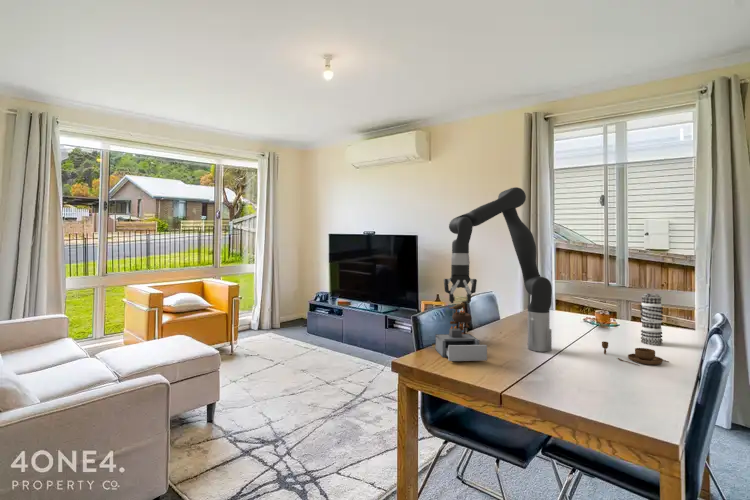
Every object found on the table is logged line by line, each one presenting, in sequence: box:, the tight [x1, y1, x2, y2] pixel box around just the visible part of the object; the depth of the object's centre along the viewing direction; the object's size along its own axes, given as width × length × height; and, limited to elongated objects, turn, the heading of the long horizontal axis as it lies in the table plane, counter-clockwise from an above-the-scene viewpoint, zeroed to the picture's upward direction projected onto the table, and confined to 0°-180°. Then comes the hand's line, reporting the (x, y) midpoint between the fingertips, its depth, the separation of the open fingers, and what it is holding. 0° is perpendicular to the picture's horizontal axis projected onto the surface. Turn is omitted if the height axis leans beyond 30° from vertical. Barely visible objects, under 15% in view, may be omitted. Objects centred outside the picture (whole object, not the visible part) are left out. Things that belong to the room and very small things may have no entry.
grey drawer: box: [445, 344, 488, 362], centre depth 161 cm, size 16×13×6 cm
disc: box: [454, 295, 468, 303], centre depth 165 cm, size 6×6×2 cm
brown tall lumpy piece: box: [448, 302, 472, 334], centre depth 191 cm, size 15×11×20 cm
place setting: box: [601, 341, 670, 367], centre depth 164 cm, size 18×20×6 cm
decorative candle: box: [639, 292, 664, 347], centre depth 186 cm, size 9×9×25 cm
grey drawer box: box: [435, 328, 481, 358], centre depth 171 cm, size 16×13×10 cm
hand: (460, 302), depth 165 cm, fingers closed on disc, 6 cm apart
